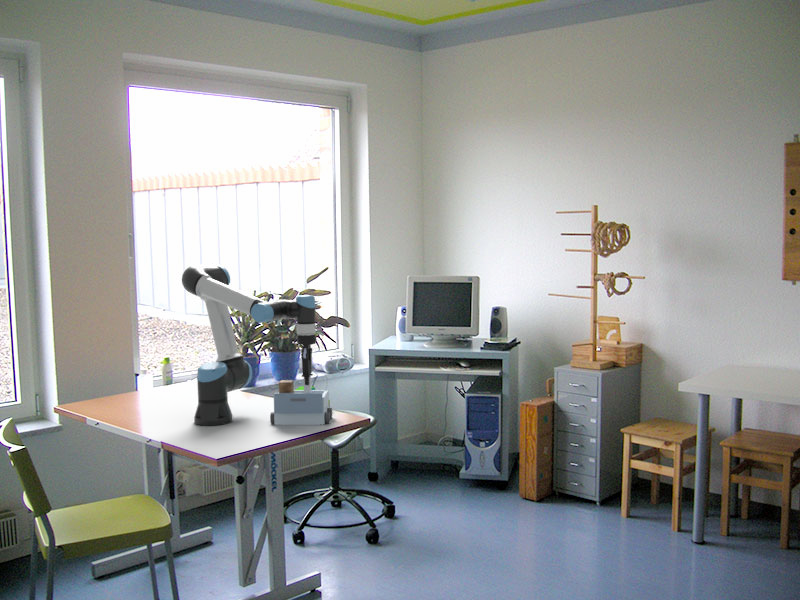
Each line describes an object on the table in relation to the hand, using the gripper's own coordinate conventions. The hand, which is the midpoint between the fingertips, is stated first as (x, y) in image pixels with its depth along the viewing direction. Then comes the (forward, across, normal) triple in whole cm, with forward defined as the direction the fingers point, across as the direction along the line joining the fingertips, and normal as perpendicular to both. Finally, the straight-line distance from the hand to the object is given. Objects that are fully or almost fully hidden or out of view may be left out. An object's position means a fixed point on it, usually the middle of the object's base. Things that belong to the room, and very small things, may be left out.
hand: (307, 392), depth 308 cm
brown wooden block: (+7, 0, +8) cm, 11 cm away
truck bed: (+12, +4, +3) cm, 13 cm away
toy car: (+13, +20, +1) cm, 24 cm away
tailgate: (+7, -4, +3) cm, 9 cm away
